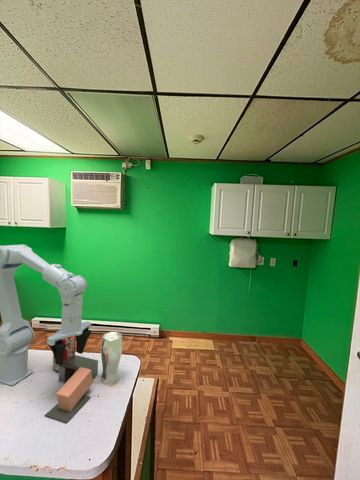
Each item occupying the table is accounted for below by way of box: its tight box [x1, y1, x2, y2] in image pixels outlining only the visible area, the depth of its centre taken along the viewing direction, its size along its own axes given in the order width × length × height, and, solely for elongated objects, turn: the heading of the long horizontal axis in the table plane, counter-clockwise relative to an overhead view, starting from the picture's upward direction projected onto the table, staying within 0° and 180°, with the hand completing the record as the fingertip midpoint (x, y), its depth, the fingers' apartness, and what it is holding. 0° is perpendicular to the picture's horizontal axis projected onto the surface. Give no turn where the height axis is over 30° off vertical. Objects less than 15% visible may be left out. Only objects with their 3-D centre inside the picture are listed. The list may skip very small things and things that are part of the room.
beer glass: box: [100, 331, 123, 385], centre depth 81 cm, size 7×7×15 cm
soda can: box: [52, 330, 76, 373], centre depth 86 cm, size 7×7×13 cm
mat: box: [44, 394, 92, 424], centre depth 68 cm, size 7×10×1 cm
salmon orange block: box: [55, 367, 94, 412], centre depth 70 cm, size 4×10×5 cm, turn 165°
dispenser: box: [58, 354, 99, 384], centre depth 80 cm, size 10×7×6 cm
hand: (69, 358), depth 74 cm, fingers open, 7 cm apart
